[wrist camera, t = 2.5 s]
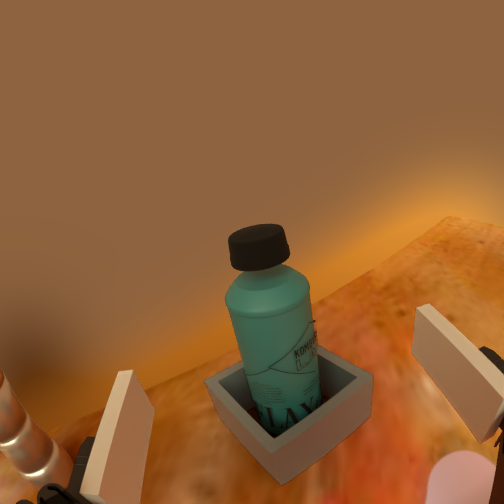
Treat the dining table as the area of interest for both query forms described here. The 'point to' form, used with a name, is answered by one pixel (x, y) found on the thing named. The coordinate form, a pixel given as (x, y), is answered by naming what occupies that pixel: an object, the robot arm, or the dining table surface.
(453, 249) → the dining table surface
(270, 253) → the beverage bottle
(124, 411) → the robot arm
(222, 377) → the bottle holder
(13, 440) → the plastic bottle
